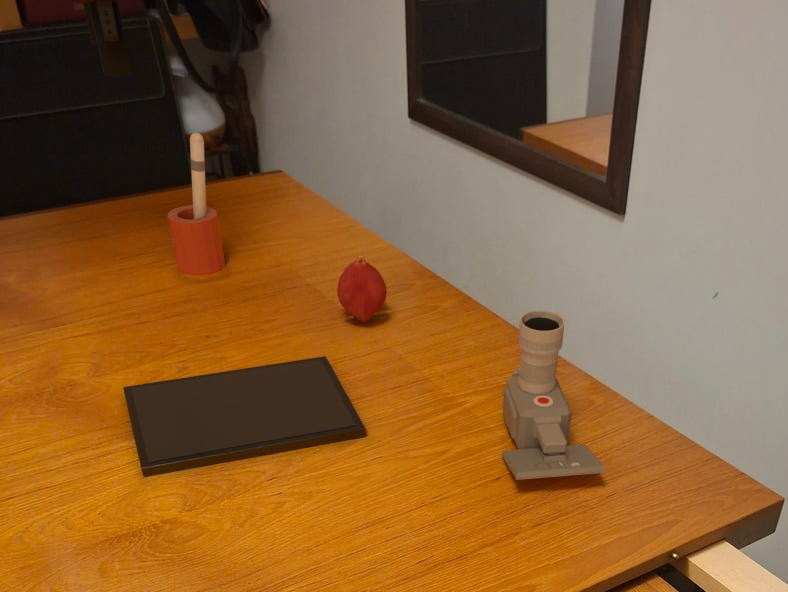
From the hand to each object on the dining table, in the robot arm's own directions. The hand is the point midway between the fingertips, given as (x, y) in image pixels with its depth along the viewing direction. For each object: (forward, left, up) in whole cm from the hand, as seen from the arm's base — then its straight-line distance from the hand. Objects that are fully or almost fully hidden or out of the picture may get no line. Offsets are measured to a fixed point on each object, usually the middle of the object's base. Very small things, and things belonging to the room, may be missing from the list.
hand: (111, 60), depth 98 cm
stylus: (-2, +6, -24) cm, 25 cm away
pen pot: (-2, +6, -25) cm, 25 cm away
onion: (+19, +22, -25) cm, 38 cm away
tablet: (+36, +4, -25) cm, 44 cm away
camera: (+52, +31, -25) cm, 65 cm away
